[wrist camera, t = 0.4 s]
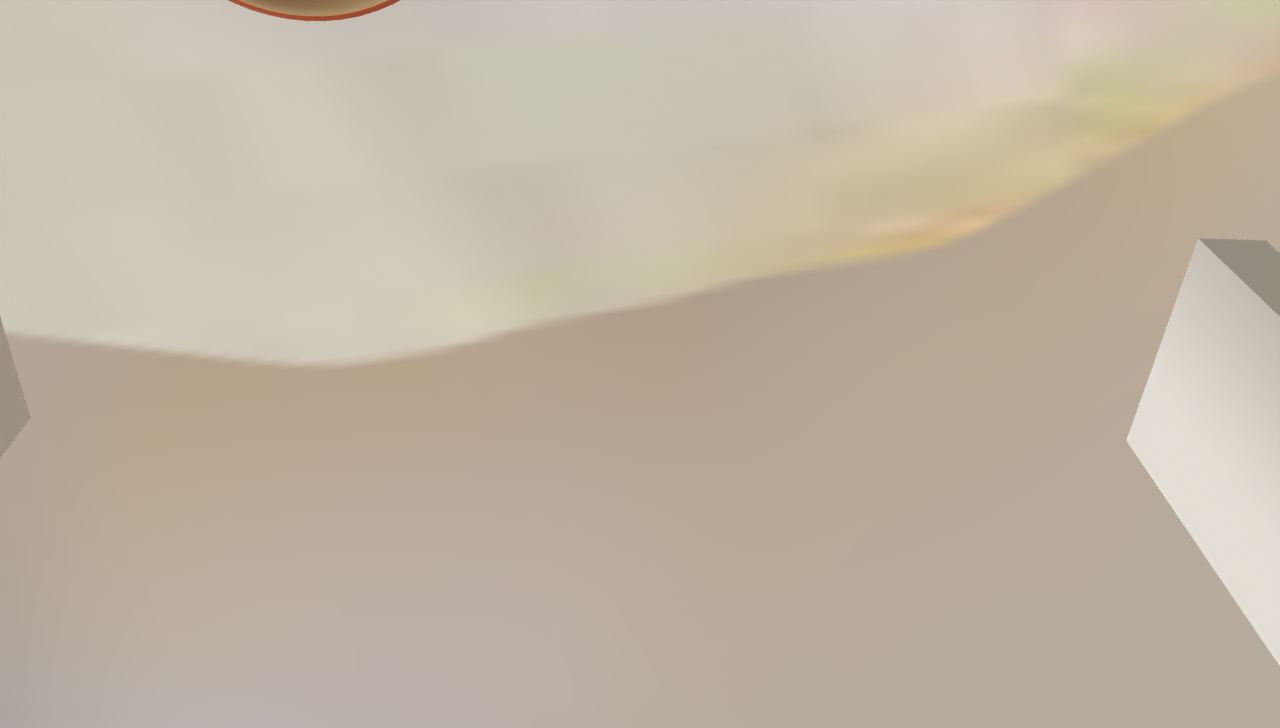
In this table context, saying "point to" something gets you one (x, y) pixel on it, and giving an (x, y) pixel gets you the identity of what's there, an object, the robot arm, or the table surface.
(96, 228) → the table surface
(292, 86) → the table surface
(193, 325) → the table surface
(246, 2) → the mug
